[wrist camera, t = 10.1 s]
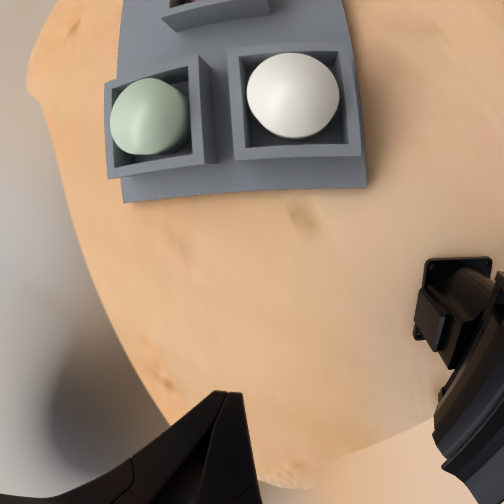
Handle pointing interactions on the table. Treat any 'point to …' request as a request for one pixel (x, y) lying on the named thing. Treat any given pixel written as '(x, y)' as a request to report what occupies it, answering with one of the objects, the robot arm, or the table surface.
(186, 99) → the button sage
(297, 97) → the button ivory
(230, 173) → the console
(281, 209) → the table surface
